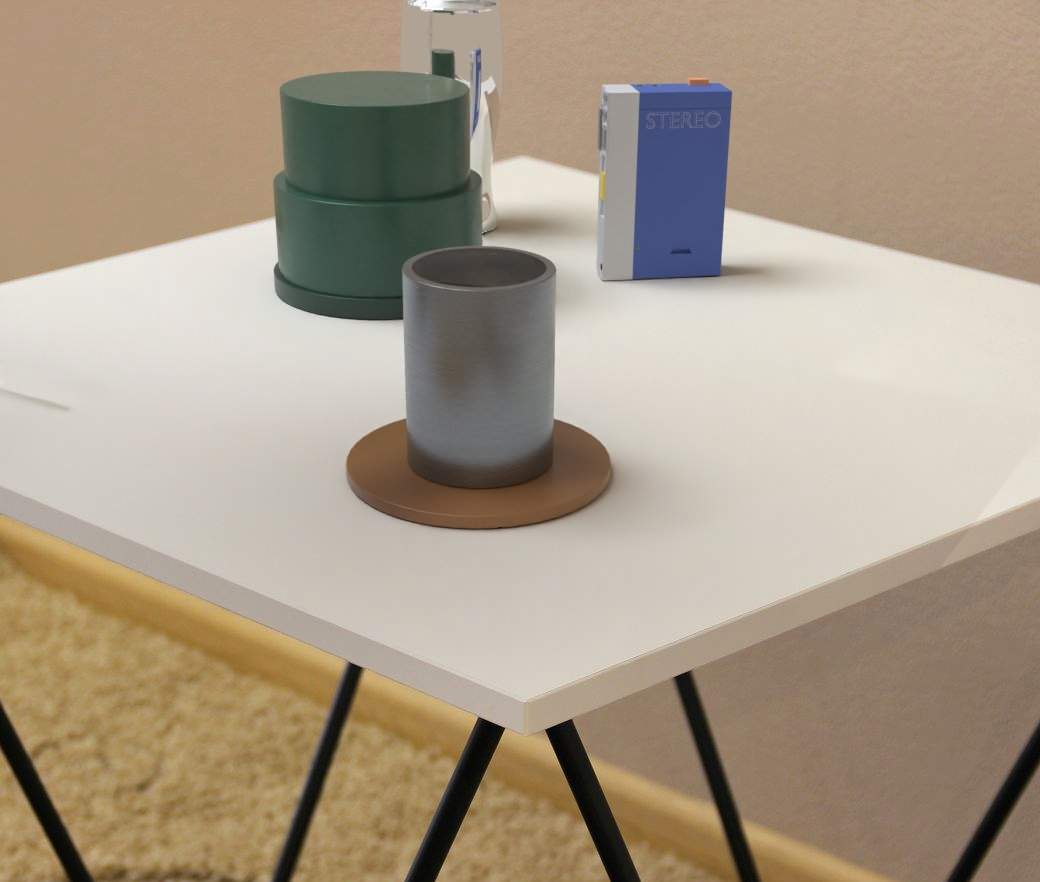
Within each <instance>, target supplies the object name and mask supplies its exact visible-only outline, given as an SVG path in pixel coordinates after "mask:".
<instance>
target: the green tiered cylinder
mask: <svg viewBox="0 0 1040 882" xmlns="http://www.w3.org/2000/svg"><path fill="white" fill-rule="evenodd" d="M278 91H279V103H280V120H281V138H282V154H283V167H284V169H283V170H281V171H280V172H279V173H277V174H276V175H275V176H274V177H273V180H272V186H273V187H272V188H273V198H274V199H273V201H274V217H275V232H276V235H275V236H276V248H277V249H276V250H277V261H276V263H275V265H274V268H273V280H274V290H275V291H274V292H275V294H276V295H277V297H278V298H279V299H280V300H281V301H283V302H285V304H287V305H290V306H292V307H294V308H296V309H299V310H303V311H305V312H310V313H313V314H318V315H322V316H327V317H335V318H342V319H355V320H399V319H400V320H401V319H403V284H402V267H403V265H404V263H405V262H406V261H407V260H408V259H410V258H412V257H414V256H416V255H418V254H421V253H424V252H428V251H432V250H437V249H442V248H450V247H460V246H483V234H482V178H481V176H480V175H479V174H478V173H477V172H475V171H474V170H472V169H470V88H469V87H468V85H466V84H465V83H463V82H460V81H458V80H455V79H451V78H447V77H442V76H437V75H431V74H423V73H412V72H400V71H395V70H352V71H336V72H327V73H326V72H325V73H318V74H311V75H305V76H301V77H298V78H293V79H290V80H288V81H286V82H284V83H283V84H281V85H280V87H279V90H278Z"/></svg>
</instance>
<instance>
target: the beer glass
mask: <svg viewBox="0 0 1040 882" xmlns="http://www.w3.org/2000/svg"><path fill="white" fill-rule="evenodd" d="M503 31H504V30H503V22H502V3H501V2H500V1H499V0H402V1H401V21H400V38H399V41H400V42H399V72H412V73H423V74H431V75H437V76H442V77H447V78H451V79H455V80H458V81H460V82H463V83H465V84H466V85H468V87H469V88H470V169H472V170H474V171H475V172H477V173H478V174H479V175H480V176H481V178H482V232H485V231H489V230H491V229H493V228H495V229H496V228H497V226H498V215H497V208H496V202H495V198H494V192H493V191H494V190H493V179H492V178H493V177H492V176H493V175H492V174H493V161H494V160H493V159H494V153H495V146H496V140H497V134H498V130H499V123H500V117H501V111H502V106H503V105H502V103H503V95H504V85H505V83H504V82H505V48H504V33H503ZM493 230H494V229H493ZM491 231H492V230H491ZM489 232H490V231H489Z"/></svg>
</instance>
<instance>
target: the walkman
mask: <svg viewBox="0 0 1040 882" xmlns="http://www.w3.org/2000/svg"><path fill="white" fill-rule="evenodd" d="M686 81H687V82H686V83H630V84H629V83H628V84H627V83H625V84H623V83H622V84H621V83H619V84H618V83H617V84H616V83H615V84H601V92H600V93H601V94H600V97H601V98H600V106H599V107H598V116H597V117H598V118H597V119H598V120H597V121H598V122H597V150H598V151H599V164H598V165H599V167H598V168H599V169H598V198H597V199H598V201H597V203H598V204H597V233H596V234H597V235H596V236H597V237H596V240H597V241H596V270H597V275H598V276H599V278H600V279H601V281H624V280H625V281H627V280H645V279H647V280H648V279H667V278H670V279H671V278H689V277H711V276H721V272H722V258H723V257H722V256H723V243H724V242H723V240H724V225H725V213H726V211H725V210H726V196H727V195H726V194H727V179H728V165H729V148H730V134H731V133H730V131H731V120H732V119H731V116H732V103H733V101H732V100H733V91H732V90H731V89H729V88H728V87H726V86H725V85H723V84H722V83H720V82H709V79H708V78H707V77H688V78H687V80H686Z"/></svg>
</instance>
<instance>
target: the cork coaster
mask: <svg viewBox="0 0 1040 882" xmlns="http://www.w3.org/2000/svg"><path fill="white" fill-rule="evenodd" d="M611 471H612V460H611V457H610V453H609V452H608V450H607V448H606V446H605V445H604V444H603V443H602V442H601V441H600V440H599V439H597V438H596V437H595V436H594V435H593V434H591V433H589V432H588V431H586V430H585V429H583V428H580V427H578V426H575V425H574V424H571V423H568V422H566V421H563V420H561V419H556V418H554V432H553V461H552V464H551V466H550V468H549V469H548V470H547V471H546V472H545V473H543V474H542V475H540V476H539V477H537V478H535V479H532V480H530V481H527V482H524V483H521V484H517V485H512V486H507V487H500V488H488V489H473V488H460V487H453V486H447V485H443V484H439V483H436V482H432V481H430V480H427V479H425V478H423V477H421V476H420V475H418V474H417V473H415V472H414V471H413V470H412V469H411V467H410V465H409V464H408V460H407V426H406V418H403V419H399V420H395V421H393V422H390V423H387V424H385V425H382V426H380V427H378V428H376V429H374V430H372V431H369V433H367V434H365V435H364V436H362V437H361V438H360V439H359V440H358V441H357V442H355V443H354V445H353V446H352V447H351V449H350V450H349V452H348V455H347V457H346V461H345V475H346V481H347V483H348V485H349V488H350V489H351V491H353V493H354V494H355V495H356V496H357V497H358V498H359V499H360V500H362V501H363V502H364V503H365V504H367V505H369V506H370V507H372V508H374V509H375V510H377V511H381V512H383V513H385V514H387V515H390V516H393V517H396V518H399V519H402V520H406V521H409V522H410V521H411V522H413V523H418V524H423V525H428V526H435V527H443V528H453V529H499V528H498V527H502V528H511V527H519V526H525V525H526V526H528V525H531V524H532V525H533V524H537V523H541V522H546V521H550V520H554V519H556V518H560V517H563V516H566V515H568V514H571V513H574V512H576V511H577V510H579V509H581V508H584V507H586V506H587V505H589V504H590V503H591V502H593V501H594V500H596V499H597V498H598V497H599V496H600V495H601V494H602V493H603V492H604V490H605V489H606V488H607V487H608V484H609V482H610V480H611Z"/></svg>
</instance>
